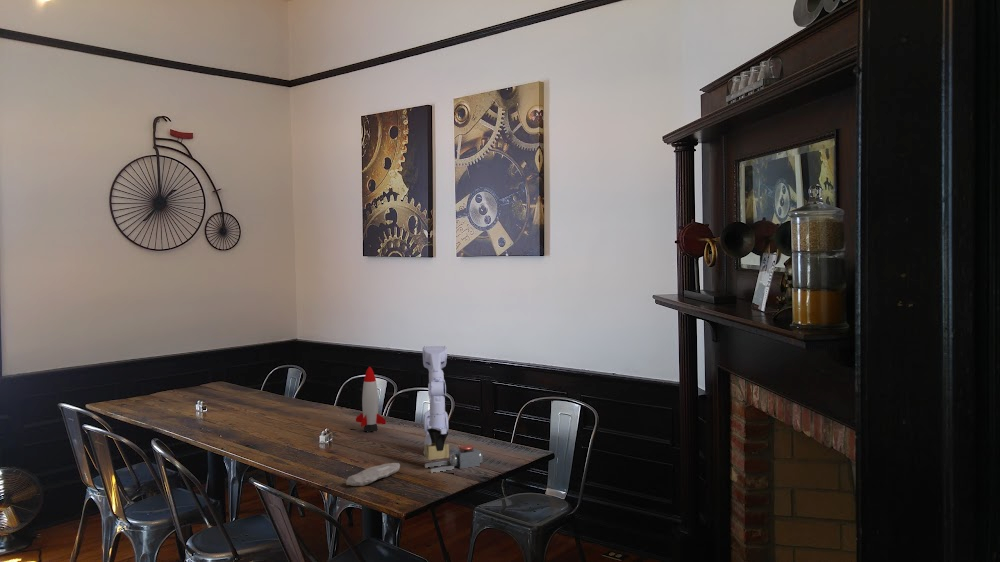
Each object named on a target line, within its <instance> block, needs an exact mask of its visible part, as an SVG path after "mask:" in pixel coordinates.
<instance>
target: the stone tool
mask: <svg viewBox="0 0 1000 562" xmlns="http://www.w3.org/2000/svg"><path fill="white" fill-rule="evenodd" d="M400 467H401V464H400V463H399V462H390V463H383V464H380V465H374V466H370V467H367V468H365V469H363V470H361V471H359V472H358V473H355V474H353V475H350V476H348V477H347V479H346V481H345V484H346V486H350V487H351V486H352V487H363V486H366V485H369V484H372V483H374V482H375V481H377V480H381V479H382V478H388V477H389V476H391V475H394V474H396V473H397V472H398V471H399V470H400Z"/></svg>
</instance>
